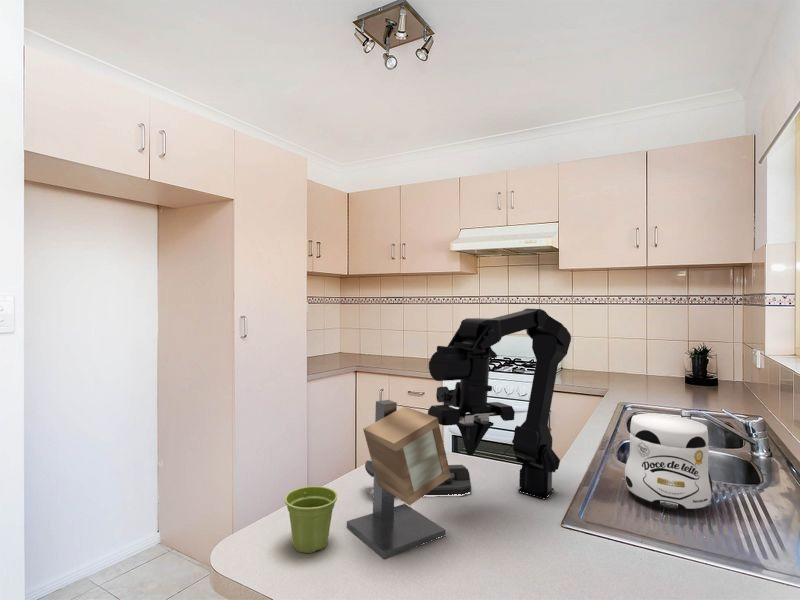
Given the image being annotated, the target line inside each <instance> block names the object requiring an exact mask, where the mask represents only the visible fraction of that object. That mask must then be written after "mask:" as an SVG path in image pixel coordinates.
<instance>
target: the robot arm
mask: <svg viewBox="0 0 800 600" xmlns="http://www.w3.org/2000/svg"><path fill="white" fill-rule="evenodd" d="M522 331H526V334H527V336H528V337H529V338H530V339H531V340H532V343H531V345H532V346H531V348H532V352H533V355H534V358H535V359H536V360H535V361H536V362H535V366H534V372H533V373H534V374H533V377H532V384H531V389H530V395H529V400H528V405H527V408H528V409H527V411H526V418H525V420H524V421H523V423H522V424H521V425H520V426H519V425H516V426H515V428H514V431H513V432H514V433H513V438H512V440H511V443H512V450H513V452H514V455H515V459H516V460H515V461H516V462H517V463H519V464H521V469H520V470H519V482H518V483H519V484H518V485H519V487H520V488H519V489H518V492H519V491H521V492H524V493H528V494H531V495H535V496H538V497H541V498H540V499H542V498H547V496H548V495H549V494H550V493H551V492H552V491H553V490H554V491H555V488H554V487H552V486H553V473H556V471H557V470H559V468H560V462H561V460H560V458H559V457H558V455H557V454H556V452H555V451H554V450H553V436H552V432H551V430H550V429H549V419H550V413H551V407H552V401H553V396H554V390H555V383H556V379H557V372H558V366H559V364H560V363H561V362H562V361H563V359H564V358H565V357H566V356H567V355H568V351H569V348H570V346H571V345H570V344H571V341H572V335H571V333H570V331H569V330H568V329H567V327H565V325H564V324H562V322H560V321H558V320H557V319H555V318H553V317H551V316H550V315H549V314H548V313H547V311H546V310H544V309H541V308H525V309H522V310H520V311H516V312H512V313H508V314H504V315H500V316H496V317H493V318H479V317H478V318H477V317H476V318H475V317H474V318H470V317H469V318H468V317H467V318H464V319H463V320H461V321H460V324H459V327H458V329H457V330H456V332H455V333H454V335H453V337H452V338H451V340H450V341H449V343H448V345H446V346H444V345H437V347H436V351H435V352H434V353H433V354H432V355H431V357H430V360H429V361H428V371H429V374H430V376H431V378H432V379H433V380H434V381H437V382H443V381H444V382H445V381H447V382H448V381H456V383H455V387H454V389H449V387H448V386H438V387H436V396H435V397H436V398H435V399H436V401H437V403H442V404H438V405H436V404H435V405H431V406H430V407H429V408H428V410H427V414H428V415H431V416H434V417H437V418H438V422H439V426H440V425H441V426H445V427H446V426H456V427H458V429H459V432H460V435H461V439H462V443H463V445H464V448H465V453H466V455H467V456H473V455H474V454H475V452H476V451H477V449H478V447H479V445H480V443H481V442H482V440H483V438H484V437H485V435H486V433H487V432H488V431H489V429H490V428H491V427H493V426H494V422H492V421H490V417H495V416H496V417H497V416H500V418H501V419H502V421H504V422H507V421H514V420H515V413H516V412H515V409H514V407H513V406H512V405H508V404H506V403H503V402H501V401H500V402H499V401H493V402H492V401H491V402H489V401H488V392H492V391H493V386H492V385H489V373H490V359H493V358H494V359H497V357H498V354H497V353H496V352H495V351H494V350H493V349H492V346H495V344H498V343H500V341H502V338H503V337H506V336H508V335H511V334H515V333H519V332H522ZM554 491H553V492H554ZM553 492H552V493H553ZM524 493H523V494H524ZM552 493H551V494H552ZM531 495H530V496H531ZM535 496H534V497H535ZM538 497H537V498H538ZM547 499H548V498H547Z"/></svg>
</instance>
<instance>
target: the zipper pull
mask: <svg viewBox="0 0 800 600" xmlns="http://www.w3.org/2000/svg"><path fill="white" fill-rule="evenodd" d="M448 466H449V470H450V474H451V477H450V478H448V479H447V480H445V481H444V482H443V483H441V484H440V485H438V486H437V487H435V488H434V489H433V490H431V491H430V492H428V493H427V494H426V495H448V494H449V495H452V494H453V495H454V494H457V495H458V494H461V495H462V494H465V493H468V492H471V493H472V482H471V476H470V472H469V469H468V468H467V467H466V466H465V465H463V464H448ZM364 467H365V471H366V473H367V474H368V475H369V476H371V477H372V478H374V468H373V464H372V460H366V461H365V465H364Z"/></svg>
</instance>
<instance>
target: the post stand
mask: <svg viewBox="0 0 800 600" xmlns="http://www.w3.org/2000/svg"><path fill="white" fill-rule="evenodd" d="M397 406H398V402H395V401H393V400H390V399H383V400H376V401H375V417H374V419H375V421H374V423H375V422H377V421H379V420H380V419H382V418H384V417H386V416H388V415H390V414H392V413H393V412H395V411H397V410H398V409H397V408H398V407H397ZM372 495H373V496H372V513H369V514H365V515H363V516H360V517H357V518H356V517H355V518H352V519H350V520H349V519H348V520H347V521H346V528H347V529H348V530H349V531H351V532H352V533H353V534H354V536H356V537H357V538H359V539H360V540H361V541H362V542H363V543H364V544H366V545H367V546H368V547H369V548H370V549H371V550H372V551H374V552H375V553H376V554H378V556H380V557H381V558H382V559H383V560H386V559H388V558H390V557H393V556H396V555H399V554H401V553H402V554H403V553H404V552H407V551H409V549H410V550H411V548H412V549H414V547H415V548H417V547H416V546H418V547H420V546H422V545H421V544H423V543H426V542H428V543H430V542H429V541H431V540H434V539H436V538H438V537H441V536H444V535H446V533H447V532H446V531H447V530H446V529H445V528H444V527H442V526H440V524H437V523H436V522H434V521H433V520H432V519H429V518H428V517H427V516H425V515H423V514H422V513H421V512H419V511H417V510H415V509H414V508H413V507H411V506H410V505H408V504H406V503H402V504H400V505H396V506H395V496H394V495H392V494H391V493H389V492H387V491H386V490H384V489H383V488H381V487H379V486H378V483H377V479H376V475H375V472H374V477H373V494H372ZM444 537H445V536H444ZM436 540H437V539H436ZM434 541H435V540H434ZM431 542H432V541H431ZM426 544H427V543H426ZM419 545H420V546H419ZM423 545H424V544H423ZM406 550H407V551H406Z"/></svg>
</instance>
